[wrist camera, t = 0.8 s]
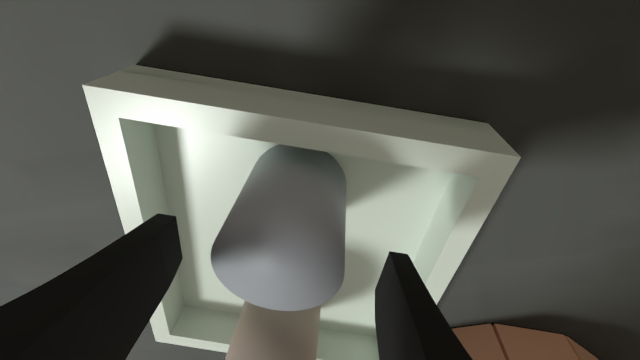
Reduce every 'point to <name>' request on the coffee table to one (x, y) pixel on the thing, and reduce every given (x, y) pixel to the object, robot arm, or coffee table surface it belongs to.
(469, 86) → the coffee table surface
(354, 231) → the parts tray
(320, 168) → the slate stone
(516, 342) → the bowl
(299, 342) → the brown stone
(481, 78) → the coffee table surface
